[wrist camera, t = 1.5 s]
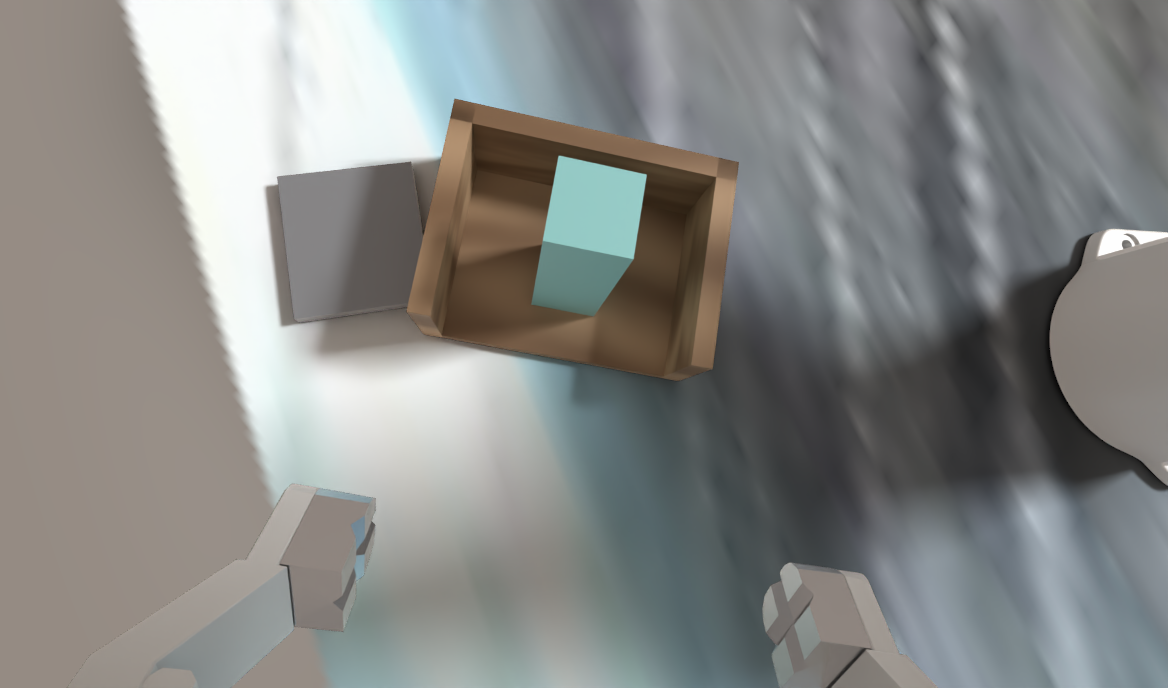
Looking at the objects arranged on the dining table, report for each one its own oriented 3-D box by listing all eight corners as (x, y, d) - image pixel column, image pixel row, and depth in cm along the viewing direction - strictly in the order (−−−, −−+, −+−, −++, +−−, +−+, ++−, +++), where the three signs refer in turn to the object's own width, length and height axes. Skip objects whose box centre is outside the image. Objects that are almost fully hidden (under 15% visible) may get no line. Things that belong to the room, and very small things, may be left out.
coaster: (413, 168, 38) (410, 161, 37) (433, 303, 37) (431, 299, 36) (283, 183, 37) (277, 176, 36) (299, 322, 36) (293, 319, 35)
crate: (678, 381, 38) (712, 369, 32) (423, 334, 37) (406, 311, 30) (702, 206, 41) (738, 162, 34) (463, 154, 39) (454, 98, 33)
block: (593, 316, 37) (633, 259, 26) (531, 304, 37) (542, 240, 25) (603, 256, 38) (646, 174, 26) (542, 244, 38) (558, 155, 26)
